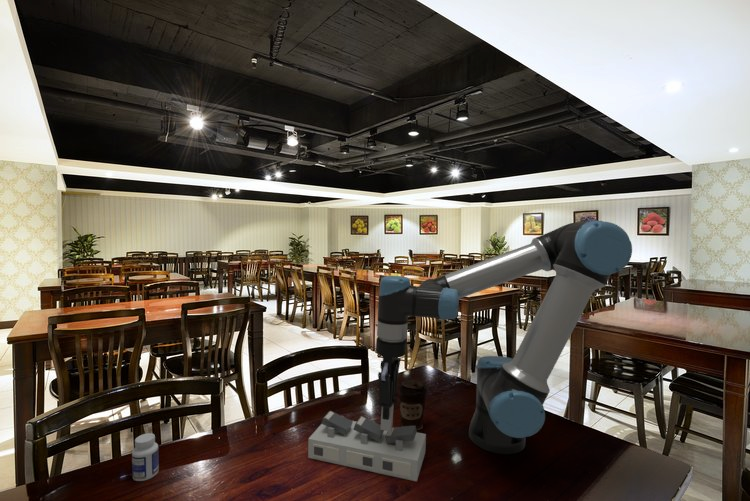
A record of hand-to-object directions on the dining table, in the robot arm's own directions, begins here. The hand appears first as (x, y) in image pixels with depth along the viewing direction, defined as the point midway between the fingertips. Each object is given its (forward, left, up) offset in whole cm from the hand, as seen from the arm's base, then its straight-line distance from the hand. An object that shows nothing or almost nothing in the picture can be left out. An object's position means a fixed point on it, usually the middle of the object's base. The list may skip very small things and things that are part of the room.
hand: (386, 429), depth 94 cm
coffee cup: (-3, -18, -8) cm, 20 cm away
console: (+5, 0, -8) cm, 9 cm away
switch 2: (+5, 0, -2) cm, 5 cm away
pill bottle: (+52, +24, -8) cm, 58 cm away
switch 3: (-4, 0, -2) cm, 4 cm away
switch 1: (+14, 0, -2) cm, 14 cm away
